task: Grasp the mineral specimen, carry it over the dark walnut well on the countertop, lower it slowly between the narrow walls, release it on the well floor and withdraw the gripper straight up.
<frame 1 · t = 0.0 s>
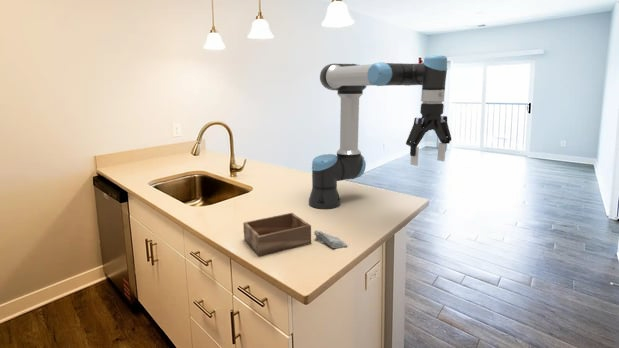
hand: (427, 162, 126), 28 cm above the worktop, fingers open, 13 cm apart
mineral specimen: (330, 244, 126), on the worktop
walnut well: (277, 241, 128), on the worktop
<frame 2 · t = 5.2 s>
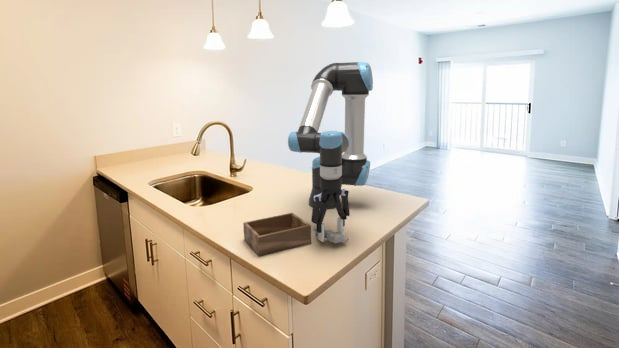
hand: (330, 237, 126), 2 cm above the worktop, fingers closed on mineral specimen, 7 cm apart
mineral specimen: (330, 239, 126), point 1 cm above the worktop, touching gripper
when the fingers open (3 cm above the worktop, at t = 10.9 s): mineral specimen drops 1 cm, resting on walnut well.
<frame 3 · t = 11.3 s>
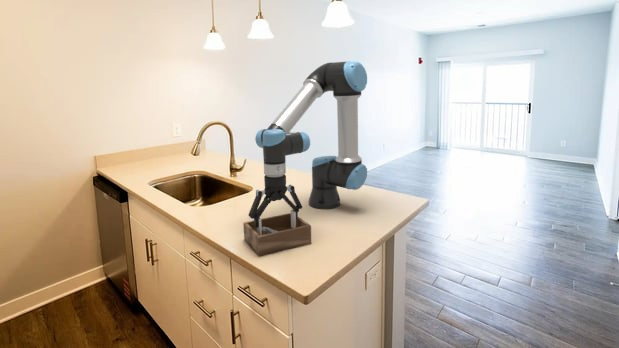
hand: (277, 231, 127), 4 cm above the worktop, fingers open, 13 cm apart
mineral specimen: (277, 240, 127), point 1 cm above the worktop, touching walnut well
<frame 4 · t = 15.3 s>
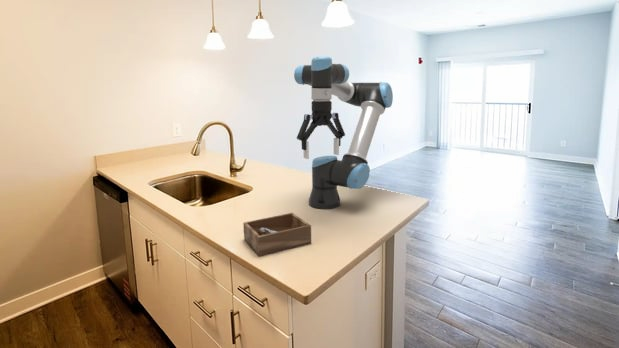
hand: (321, 156, 135), 29 cm above the worktop, fingers open, 13 cm apart
at the end: mineral specimen inside the target area on the walnut well (0.9 cm from its centre), point 0.8 cm above the walnut well's base; the gripper is holding nothing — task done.
